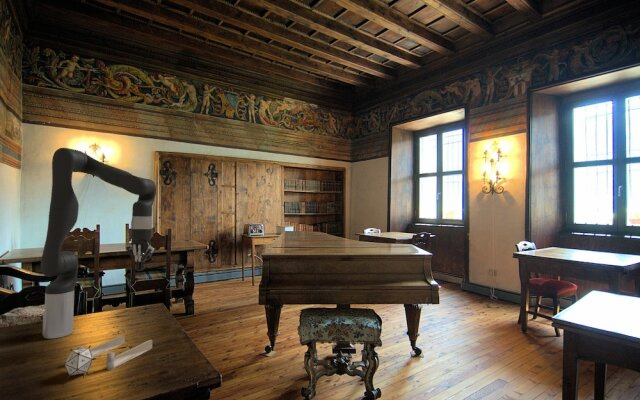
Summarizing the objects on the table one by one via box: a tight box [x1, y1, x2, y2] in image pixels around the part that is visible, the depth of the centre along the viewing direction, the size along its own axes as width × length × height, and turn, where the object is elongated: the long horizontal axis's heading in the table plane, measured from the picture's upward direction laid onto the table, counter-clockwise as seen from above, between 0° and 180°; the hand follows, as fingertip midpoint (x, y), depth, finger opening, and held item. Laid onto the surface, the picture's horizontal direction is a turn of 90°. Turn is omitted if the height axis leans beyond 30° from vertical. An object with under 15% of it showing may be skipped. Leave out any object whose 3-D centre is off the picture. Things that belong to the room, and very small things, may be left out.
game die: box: [60, 345, 97, 379], centre depth 101 cm, size 9×8×10 cm
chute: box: [76, 334, 153, 371], centre depth 114 cm, size 15×18×5 cm
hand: (139, 270), depth 131 cm, fingers closed
